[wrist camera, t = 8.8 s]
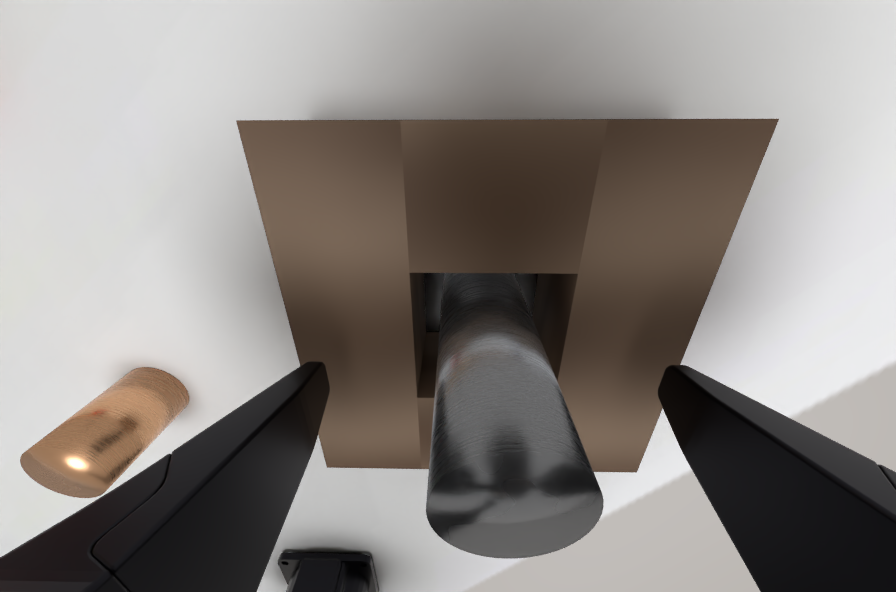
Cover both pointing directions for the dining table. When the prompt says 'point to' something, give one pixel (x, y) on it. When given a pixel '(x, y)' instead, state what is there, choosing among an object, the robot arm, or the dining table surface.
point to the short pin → (106, 434)
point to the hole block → (498, 257)
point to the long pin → (502, 430)
